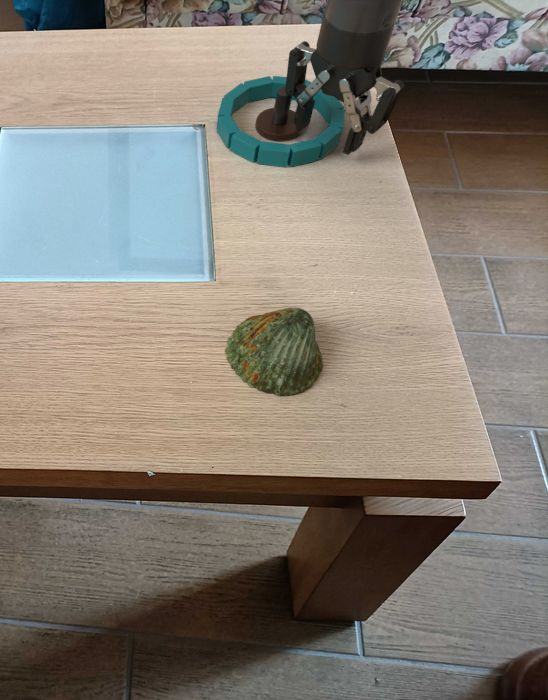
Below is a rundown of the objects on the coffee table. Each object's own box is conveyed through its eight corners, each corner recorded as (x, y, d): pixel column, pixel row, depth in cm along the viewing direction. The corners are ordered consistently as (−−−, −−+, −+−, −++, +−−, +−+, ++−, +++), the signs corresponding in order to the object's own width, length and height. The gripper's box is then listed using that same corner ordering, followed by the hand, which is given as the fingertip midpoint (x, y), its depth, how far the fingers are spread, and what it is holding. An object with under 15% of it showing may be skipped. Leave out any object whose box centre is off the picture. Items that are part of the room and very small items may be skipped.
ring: (307, 82, 96) (310, 66, 94) (362, 150, 87) (367, 134, 85) (200, 106, 94) (202, 90, 92) (245, 178, 85) (247, 162, 83)
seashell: (212, 329, 67) (278, 276, 70) (206, 351, 70) (269, 299, 74) (291, 396, 63) (357, 336, 66) (281, 415, 66) (344, 358, 70)
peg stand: (296, 112, 92) (304, 75, 88) (304, 140, 89) (313, 103, 84) (252, 114, 92) (258, 78, 88) (258, 142, 89) (265, 106, 84)
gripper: (441, 19, 71) (391, 148, 84) (323, -24, 77) (295, 103, 91) (403, 50, 68) (358, 179, 82) (284, 3, 74) (261, 130, 88)
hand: (325, 138), depth 86 cm, fingers open, 6 cm apart
